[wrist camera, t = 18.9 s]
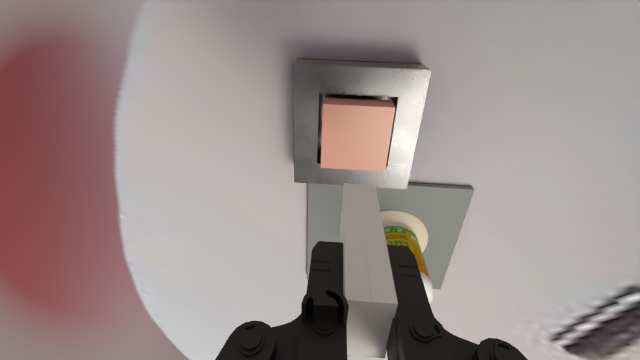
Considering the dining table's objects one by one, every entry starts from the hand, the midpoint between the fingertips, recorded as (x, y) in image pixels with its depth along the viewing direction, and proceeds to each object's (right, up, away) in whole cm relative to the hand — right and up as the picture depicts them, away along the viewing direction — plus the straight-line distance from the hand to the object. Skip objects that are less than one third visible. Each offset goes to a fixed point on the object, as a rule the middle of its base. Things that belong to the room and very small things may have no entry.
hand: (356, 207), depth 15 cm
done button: (+1, +5, +10) cm, 11 cm away
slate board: (+5, -5, +18) cm, 19 cm away
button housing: (+1, +7, +12) cm, 14 cm away
